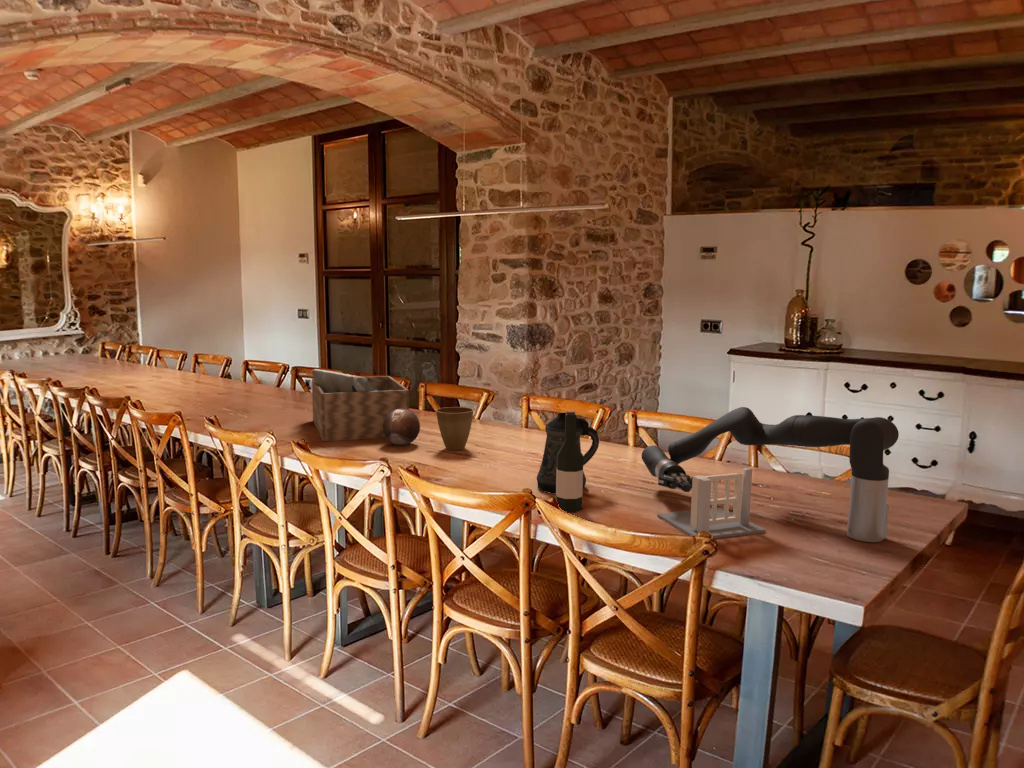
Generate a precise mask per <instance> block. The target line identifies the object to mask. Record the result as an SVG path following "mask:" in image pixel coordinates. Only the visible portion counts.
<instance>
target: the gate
mask: <svg viewBox="0 0 1024 768" xmlns="http://www.w3.org/2000/svg"><path fill="white" fill-rule="evenodd" d="M692 477H693V479H692V489H691V499H690V500H691V503H690V505H691V507H690V510H691V522H690V525H691V526H693V527H695V528H697V525H698V504H699V483H700V479H704V478H708V479H710V480H711V483H712V489H711V499H710V506H711V508H712V510H711V519H709V525H712V524H721V523H729V522H740V517H741V502H742V484H743V472H734V473H725V474H724V473H723V474H713V475H711V474H710V475H702V474H701V475H693V476H692ZM731 480H732V481H733V480H734V488H733V496H731V497H730V495H731V494H730V493H731V490H730V489H731ZM721 481H723V482H724V494H723V496H724V497H722V498H718V495H719V494H718V492H719V482H721ZM722 504H723V508H724V512H723V518H716V514H717V508H718V505H722ZM730 504H733V505H732V507H733V508H732V513H733V516H732V517H728V515H729V510H730Z"/></svg>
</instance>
